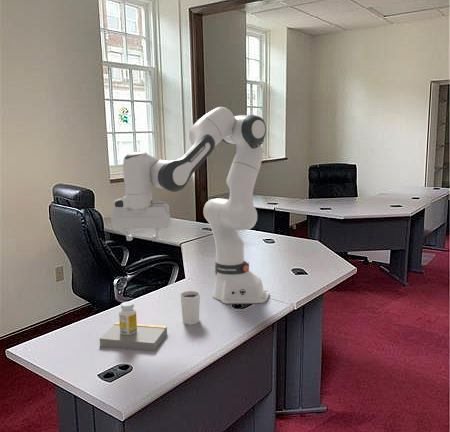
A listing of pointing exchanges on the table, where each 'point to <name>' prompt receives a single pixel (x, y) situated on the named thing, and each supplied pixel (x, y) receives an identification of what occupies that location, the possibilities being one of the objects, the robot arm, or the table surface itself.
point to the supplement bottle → (127, 318)
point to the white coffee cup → (190, 307)
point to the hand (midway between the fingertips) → (142, 240)
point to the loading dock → (135, 337)
